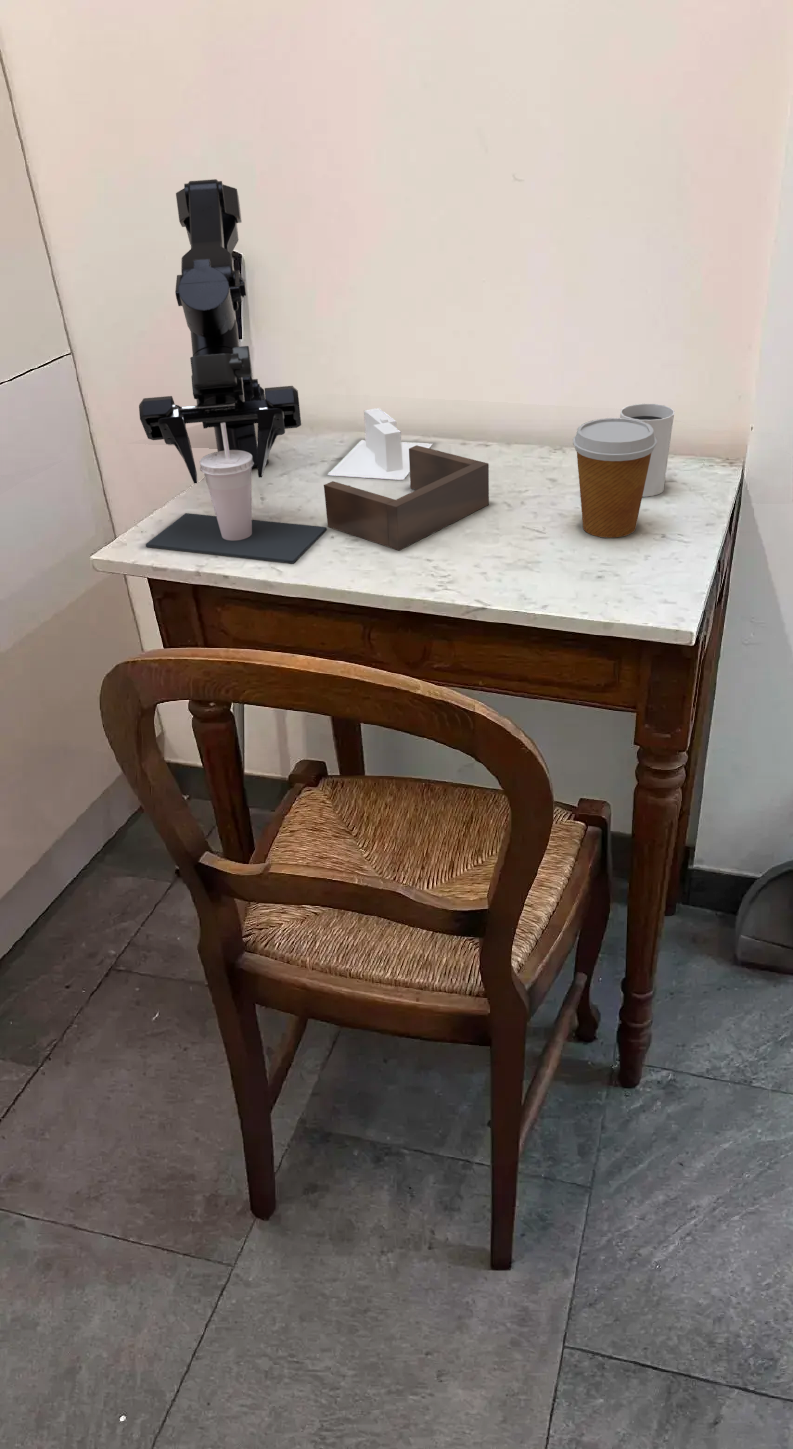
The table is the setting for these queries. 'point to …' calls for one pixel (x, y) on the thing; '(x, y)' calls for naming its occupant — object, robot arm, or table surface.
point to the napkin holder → (378, 451)
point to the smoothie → (230, 489)
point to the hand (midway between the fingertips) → (227, 479)
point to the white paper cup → (662, 428)
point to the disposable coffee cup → (612, 473)
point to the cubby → (412, 500)
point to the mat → (262, 544)
